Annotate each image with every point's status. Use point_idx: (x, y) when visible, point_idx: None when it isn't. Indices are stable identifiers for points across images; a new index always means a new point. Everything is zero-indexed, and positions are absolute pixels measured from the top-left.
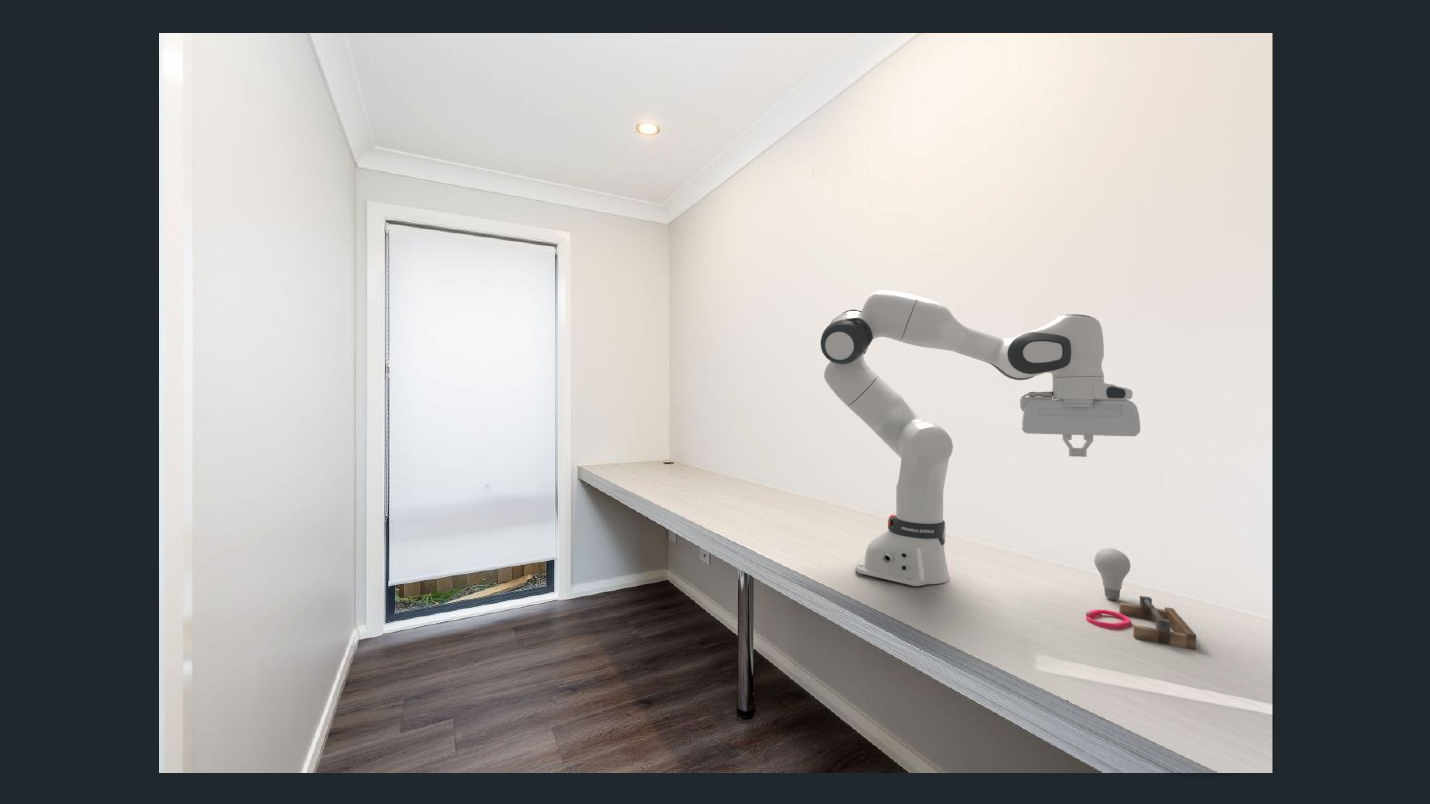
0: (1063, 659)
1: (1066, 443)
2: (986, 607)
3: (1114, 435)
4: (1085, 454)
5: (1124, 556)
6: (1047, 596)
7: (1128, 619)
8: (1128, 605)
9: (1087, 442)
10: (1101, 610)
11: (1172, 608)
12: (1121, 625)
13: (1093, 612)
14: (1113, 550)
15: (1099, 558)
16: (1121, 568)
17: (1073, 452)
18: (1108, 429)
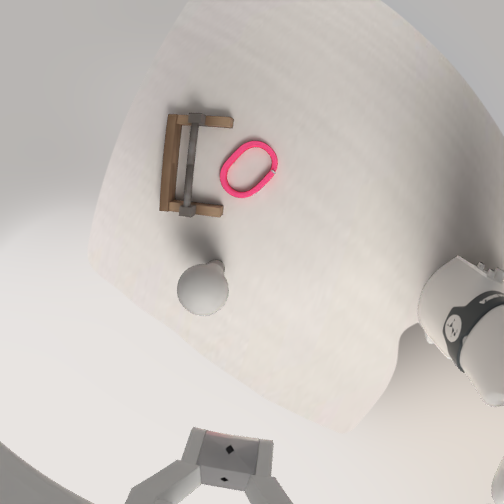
0: (336, 33)
1: (289, 500)
2: (403, 168)
3: (20, 460)
4: (195, 435)
5: (182, 285)
6: (306, 248)
7: (222, 171)
8: (210, 209)
9: (165, 489)
10: (250, 191)
11: (159, 210)
12: (238, 148)
13: (264, 177)
14: (195, 295)
15: (222, 285)
16: (195, 266)
17: (253, 453)
18: (24, 499)
